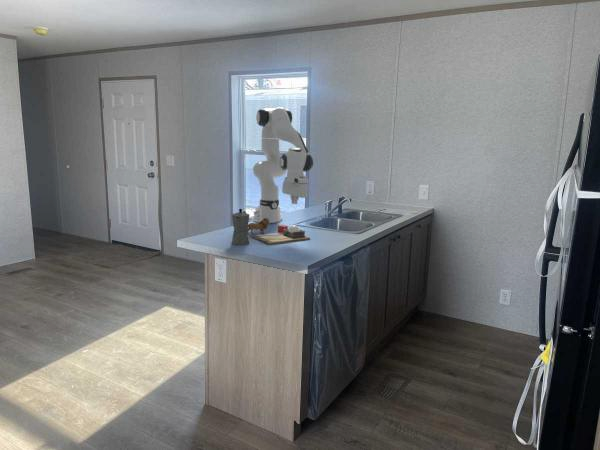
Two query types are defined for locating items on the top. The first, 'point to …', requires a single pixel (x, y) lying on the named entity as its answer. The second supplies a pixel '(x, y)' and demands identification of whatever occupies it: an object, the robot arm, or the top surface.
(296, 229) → the dome
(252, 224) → the lion figurine
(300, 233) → the wooden cutting board
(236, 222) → the coffeepot
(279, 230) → the red die
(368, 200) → the top surface
